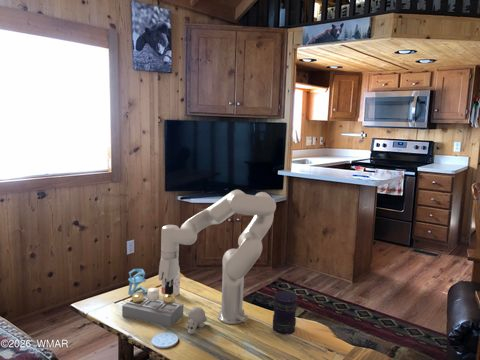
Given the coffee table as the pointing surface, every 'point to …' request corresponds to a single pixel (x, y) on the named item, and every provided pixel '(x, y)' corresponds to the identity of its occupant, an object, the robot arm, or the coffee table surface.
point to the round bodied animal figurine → (196, 319)
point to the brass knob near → (169, 299)
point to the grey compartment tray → (153, 311)
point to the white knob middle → (153, 294)
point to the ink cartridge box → (174, 285)
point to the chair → (136, 281)
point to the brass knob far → (137, 298)
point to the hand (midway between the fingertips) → (168, 293)
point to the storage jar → (284, 312)
